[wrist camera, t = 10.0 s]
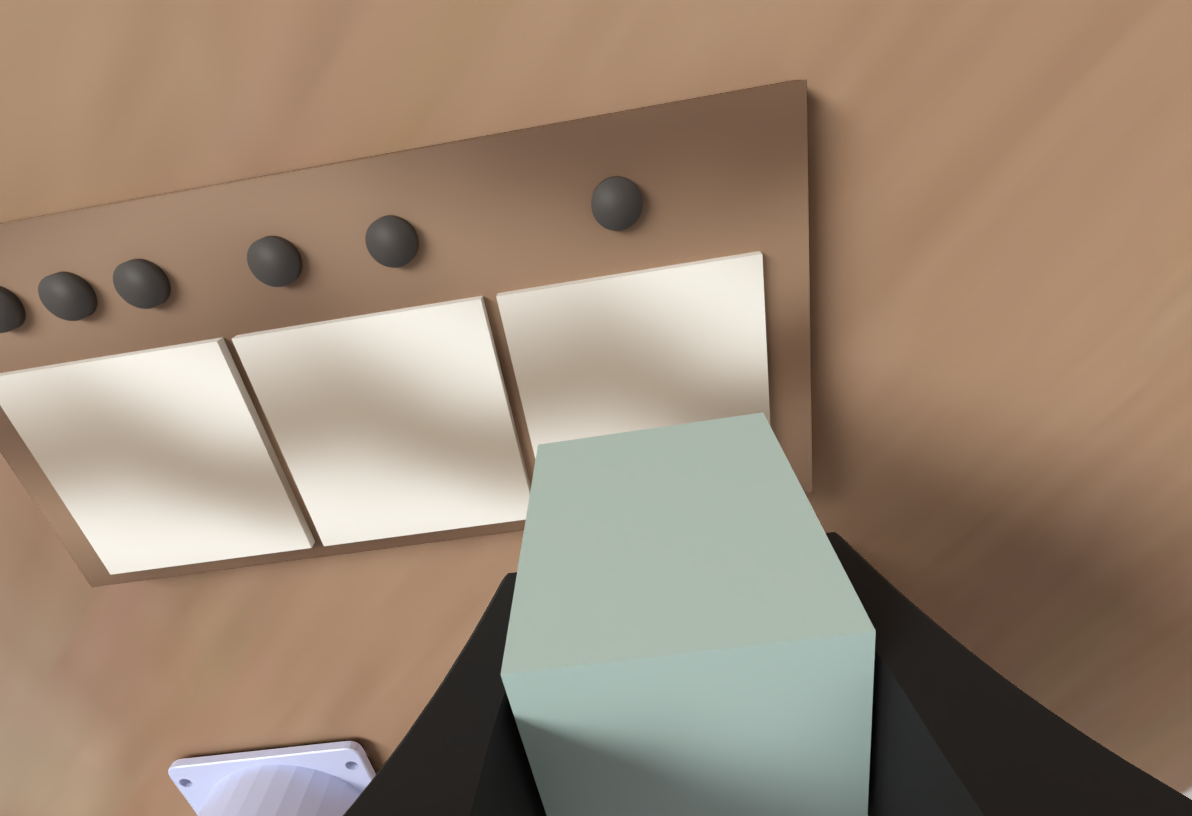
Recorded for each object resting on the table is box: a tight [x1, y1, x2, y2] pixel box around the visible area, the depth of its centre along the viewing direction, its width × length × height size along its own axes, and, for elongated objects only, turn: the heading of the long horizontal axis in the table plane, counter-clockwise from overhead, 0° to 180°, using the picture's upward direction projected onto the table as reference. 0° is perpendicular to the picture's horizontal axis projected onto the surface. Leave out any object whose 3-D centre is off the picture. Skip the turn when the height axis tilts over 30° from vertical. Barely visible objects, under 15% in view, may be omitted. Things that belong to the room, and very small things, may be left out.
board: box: [0, 80, 812, 587], centre depth 18 cm, size 11×23×1 cm, turn 99°
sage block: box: [501, 412, 876, 816], centre depth 10 cm, size 4×4×5 cm
